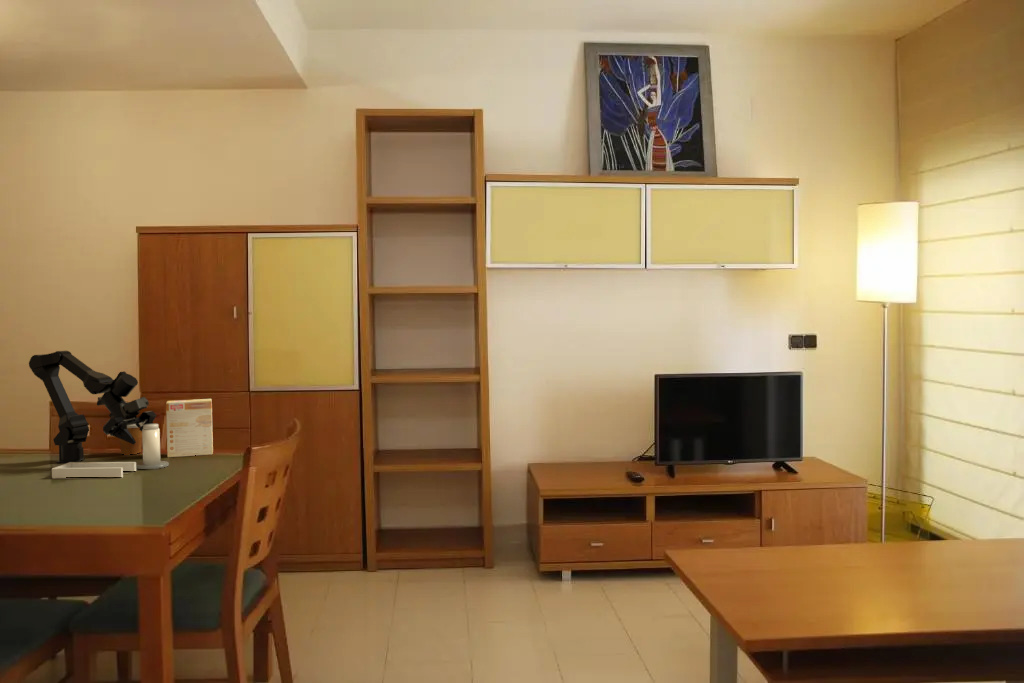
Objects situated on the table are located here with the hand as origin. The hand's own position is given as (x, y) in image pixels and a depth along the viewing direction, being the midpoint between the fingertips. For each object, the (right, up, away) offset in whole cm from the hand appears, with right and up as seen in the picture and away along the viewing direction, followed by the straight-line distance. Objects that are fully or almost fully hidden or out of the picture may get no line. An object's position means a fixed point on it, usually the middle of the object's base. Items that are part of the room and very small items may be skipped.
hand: (145, 441), depth 263 cm
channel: (-9, -9, -12) cm, 18 cm away
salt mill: (+2, -7, 0) cm, 8 cm away
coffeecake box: (+6, -8, +22) cm, 24 cm away
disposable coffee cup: (-16, -8, +23) cm, 29 cm away
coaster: (+2, -8, 0) cm, 9 cm away
